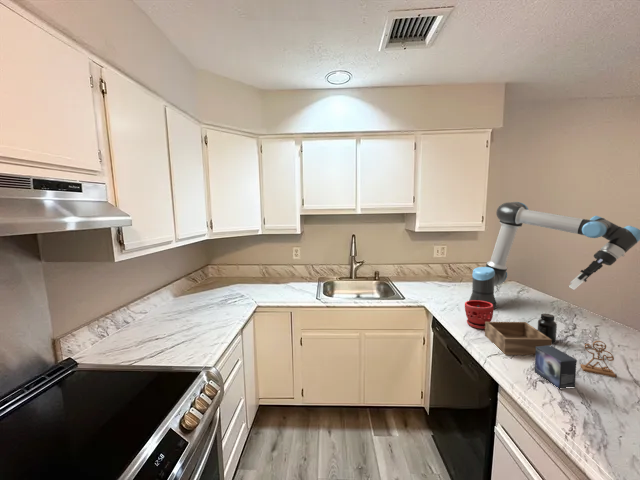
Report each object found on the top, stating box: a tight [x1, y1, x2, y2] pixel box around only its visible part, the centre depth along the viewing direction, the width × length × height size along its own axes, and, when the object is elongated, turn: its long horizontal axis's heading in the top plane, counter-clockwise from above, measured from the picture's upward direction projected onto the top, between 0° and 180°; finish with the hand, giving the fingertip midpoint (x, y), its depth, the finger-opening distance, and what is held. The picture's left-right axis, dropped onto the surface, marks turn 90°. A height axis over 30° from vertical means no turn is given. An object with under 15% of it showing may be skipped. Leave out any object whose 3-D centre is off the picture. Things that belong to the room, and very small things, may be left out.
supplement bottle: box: [537, 313, 558, 344], centre depth 130 cm, size 7×7×12 cm
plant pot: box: [464, 300, 494, 330], centre depth 148 cm, size 13×13×12 cm
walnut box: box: [484, 321, 553, 356], centre depth 127 cm, size 18×18×7 cm
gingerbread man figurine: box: [579, 340, 617, 378], centre depth 105 cm, size 9×4×12 cm, turn 60°
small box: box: [534, 344, 578, 390], centre depth 101 cm, size 11×6×10 cm, turn 5°
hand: (571, 286), depth 140 cm, fingers open, 13 cm apart
